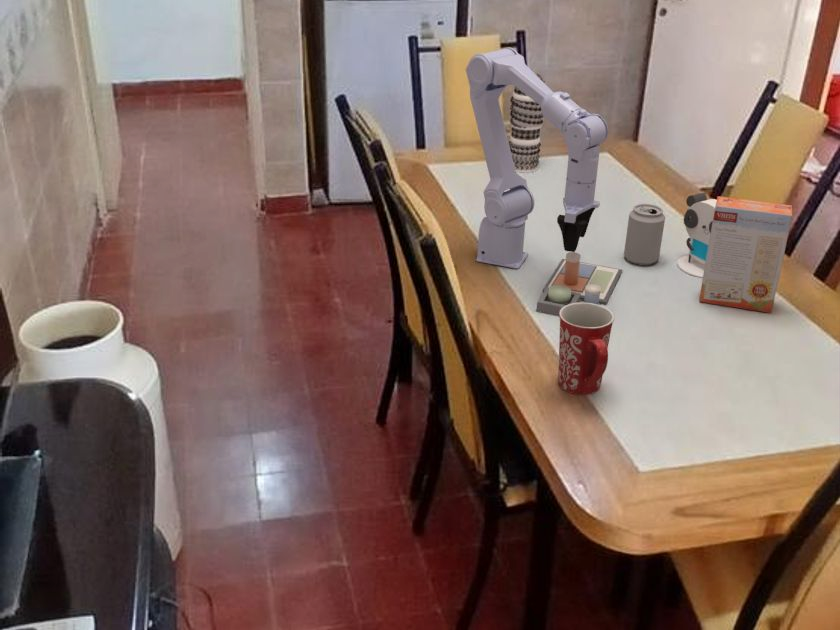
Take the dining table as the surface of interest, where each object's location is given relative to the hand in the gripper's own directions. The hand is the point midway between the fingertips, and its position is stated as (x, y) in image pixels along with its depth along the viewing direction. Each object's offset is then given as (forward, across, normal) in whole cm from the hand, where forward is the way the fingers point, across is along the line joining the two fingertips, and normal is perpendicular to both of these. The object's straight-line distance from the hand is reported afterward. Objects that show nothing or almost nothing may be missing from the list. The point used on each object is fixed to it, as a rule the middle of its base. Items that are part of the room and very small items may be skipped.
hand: (574, 243), depth 189 cm
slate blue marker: (+10, -10, -6) cm, 16 cm away
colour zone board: (+10, +4, -2) cm, 11 cm away
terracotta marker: (+9, 0, 0) cm, 9 cm away
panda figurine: (+10, +21, -24) cm, 34 cm away
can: (+10, +19, -11) cm, 25 cm away
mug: (+10, -36, -11) cm, 39 cm away
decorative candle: (+10, +65, +29) cm, 71 cm away
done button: (+8, -9, 0) cm, 12 cm away
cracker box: (+10, +7, -32) cm, 34 cm away
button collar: (+10, -9, 0) cm, 13 cm away
